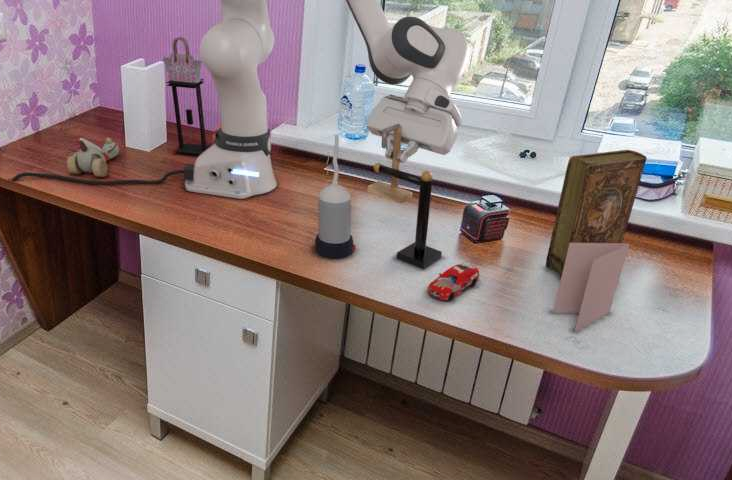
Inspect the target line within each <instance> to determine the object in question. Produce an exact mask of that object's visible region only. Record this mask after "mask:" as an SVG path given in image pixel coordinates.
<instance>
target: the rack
mask: <svg viewBox="0 0 732 480" xmlns="http://www.w3.org/2000/svg"><path fill="white" fill-rule="evenodd" d="M373 170H374V172H375V173H378V174H379V173H380V174H384V175H385V176H390V177H391V176H392V177H395V178H398V179H399V180H401V181H405V182H407V183H411V184H414V185H417V186H419V191H418V203H417V213H416V214H417V215H416V224H415V225H416V227H415V237H414V242H412V243H411V244H409V245H407V246H406V247H403V248H402V249H400V250H399V251H397V252H396V260H399V261H402V262H404V263H407V264H410V265H412V266H414V267H417V268H419V269H422V270H425V269H426V268H428V267H429V266H431V265H432V264H434V263H436V262H437V261H439V260H441V258H442V256H443V255H442V254H443V252H442V250H439V249H436V248H433V247H430V246H428V245H427V240H428V239H427V238H428V229H429V217H430V207H431V198H432V190H433V174H432V172H431V171H428V170H425V171H423V172H422V173H421V176H419V175H415V174H412V173H408V172H405V171H402V170H400V169H399V170H396V169H393V168H392V167H390V166H387V165H383V164H382V163H381V162H376V163H375V164H374V165H373Z"/></svg>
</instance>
